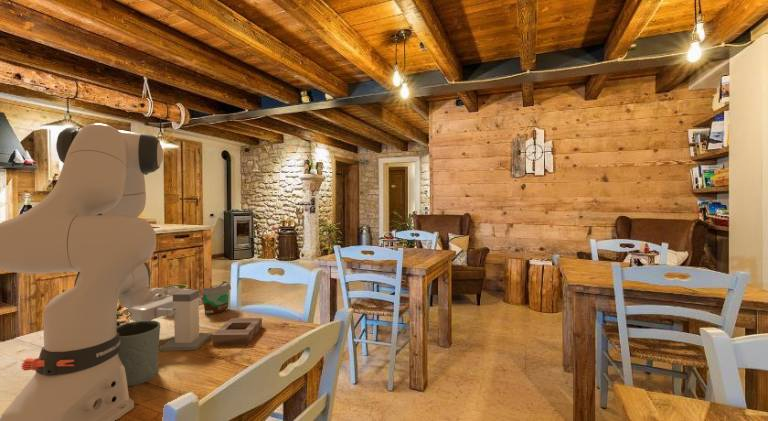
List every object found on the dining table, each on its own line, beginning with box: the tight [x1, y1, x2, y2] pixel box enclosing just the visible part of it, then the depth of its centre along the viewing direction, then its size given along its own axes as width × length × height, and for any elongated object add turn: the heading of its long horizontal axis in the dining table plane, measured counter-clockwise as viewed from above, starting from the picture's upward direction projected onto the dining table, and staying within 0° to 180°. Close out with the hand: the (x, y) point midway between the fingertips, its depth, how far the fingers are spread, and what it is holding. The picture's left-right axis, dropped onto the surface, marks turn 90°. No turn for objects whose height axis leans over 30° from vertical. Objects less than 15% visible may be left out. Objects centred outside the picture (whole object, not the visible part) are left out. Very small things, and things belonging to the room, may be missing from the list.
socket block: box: [211, 317, 263, 346], centre depth 111 cm, size 14×10×3 cm
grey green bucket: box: [117, 320, 161, 387], centre depth 85 cm, size 10×10×12 cm
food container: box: [201, 280, 232, 316], centre depth 134 cm, size 12×6×10 cm, turn 168°
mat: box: [159, 332, 213, 352], centre depth 105 cm, size 10×10×1 cm
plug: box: [173, 289, 201, 343], centre depth 105 cm, size 5×5×14 cm
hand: (188, 307), depth 105 cm, fingers open, 8 cm apart
